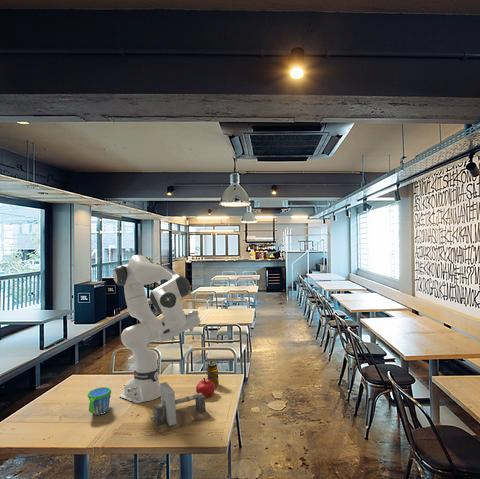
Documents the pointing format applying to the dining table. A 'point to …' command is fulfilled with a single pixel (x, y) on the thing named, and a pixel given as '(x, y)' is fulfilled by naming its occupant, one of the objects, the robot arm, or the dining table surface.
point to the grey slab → (168, 403)
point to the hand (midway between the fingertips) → (182, 334)
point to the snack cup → (99, 400)
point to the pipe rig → (181, 413)
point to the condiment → (213, 374)
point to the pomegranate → (205, 387)
